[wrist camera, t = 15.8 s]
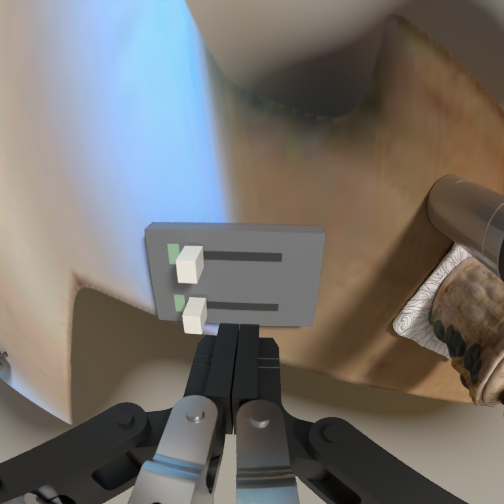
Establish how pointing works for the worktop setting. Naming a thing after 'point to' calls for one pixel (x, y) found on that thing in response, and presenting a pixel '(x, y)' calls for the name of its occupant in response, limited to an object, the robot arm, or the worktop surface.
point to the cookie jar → (461, 323)
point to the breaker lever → (190, 264)
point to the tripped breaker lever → (195, 315)
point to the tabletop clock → (1, 356)
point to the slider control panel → (239, 271)
